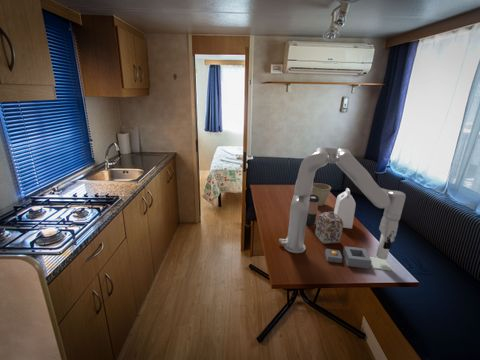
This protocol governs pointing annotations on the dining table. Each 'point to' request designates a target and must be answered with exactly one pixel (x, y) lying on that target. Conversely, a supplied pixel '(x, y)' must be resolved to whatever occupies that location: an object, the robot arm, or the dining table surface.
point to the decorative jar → (329, 227)
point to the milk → (345, 208)
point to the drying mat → (380, 264)
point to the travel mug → (312, 209)
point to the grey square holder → (356, 257)
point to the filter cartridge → (381, 251)
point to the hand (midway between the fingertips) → (384, 245)
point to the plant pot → (321, 192)
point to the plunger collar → (333, 256)
